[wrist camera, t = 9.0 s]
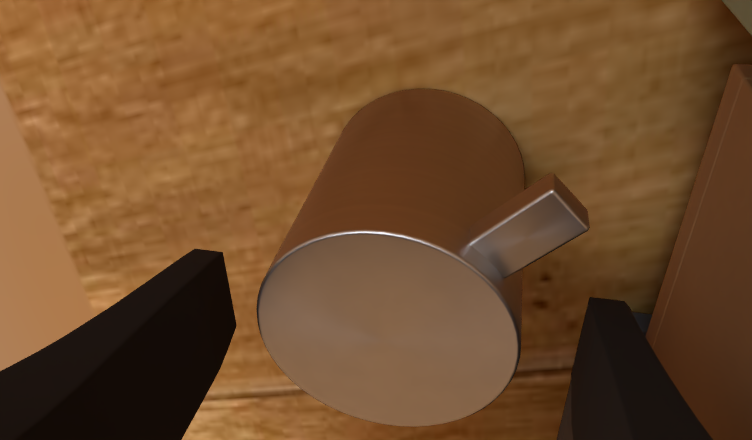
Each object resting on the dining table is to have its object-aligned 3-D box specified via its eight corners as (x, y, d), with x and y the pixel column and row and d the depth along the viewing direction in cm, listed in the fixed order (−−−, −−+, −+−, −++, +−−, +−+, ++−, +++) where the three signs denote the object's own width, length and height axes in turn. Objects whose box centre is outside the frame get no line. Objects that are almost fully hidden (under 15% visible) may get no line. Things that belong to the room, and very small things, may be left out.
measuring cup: (422, 280, 19) (384, 455, 14) (297, 165, 17) (205, 316, 12) (625, 152, 15) (668, 327, 10) (489, -6, 14) (465, 112, 9)
